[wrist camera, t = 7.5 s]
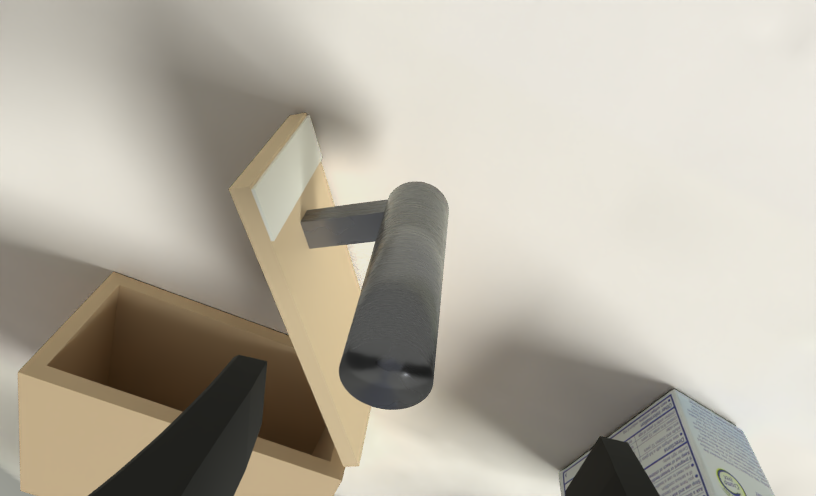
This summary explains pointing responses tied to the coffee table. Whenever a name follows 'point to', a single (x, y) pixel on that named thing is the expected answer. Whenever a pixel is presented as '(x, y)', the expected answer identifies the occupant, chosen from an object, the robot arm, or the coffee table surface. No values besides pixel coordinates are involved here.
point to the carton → (159, 394)
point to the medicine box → (688, 451)
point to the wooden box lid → (347, 281)
